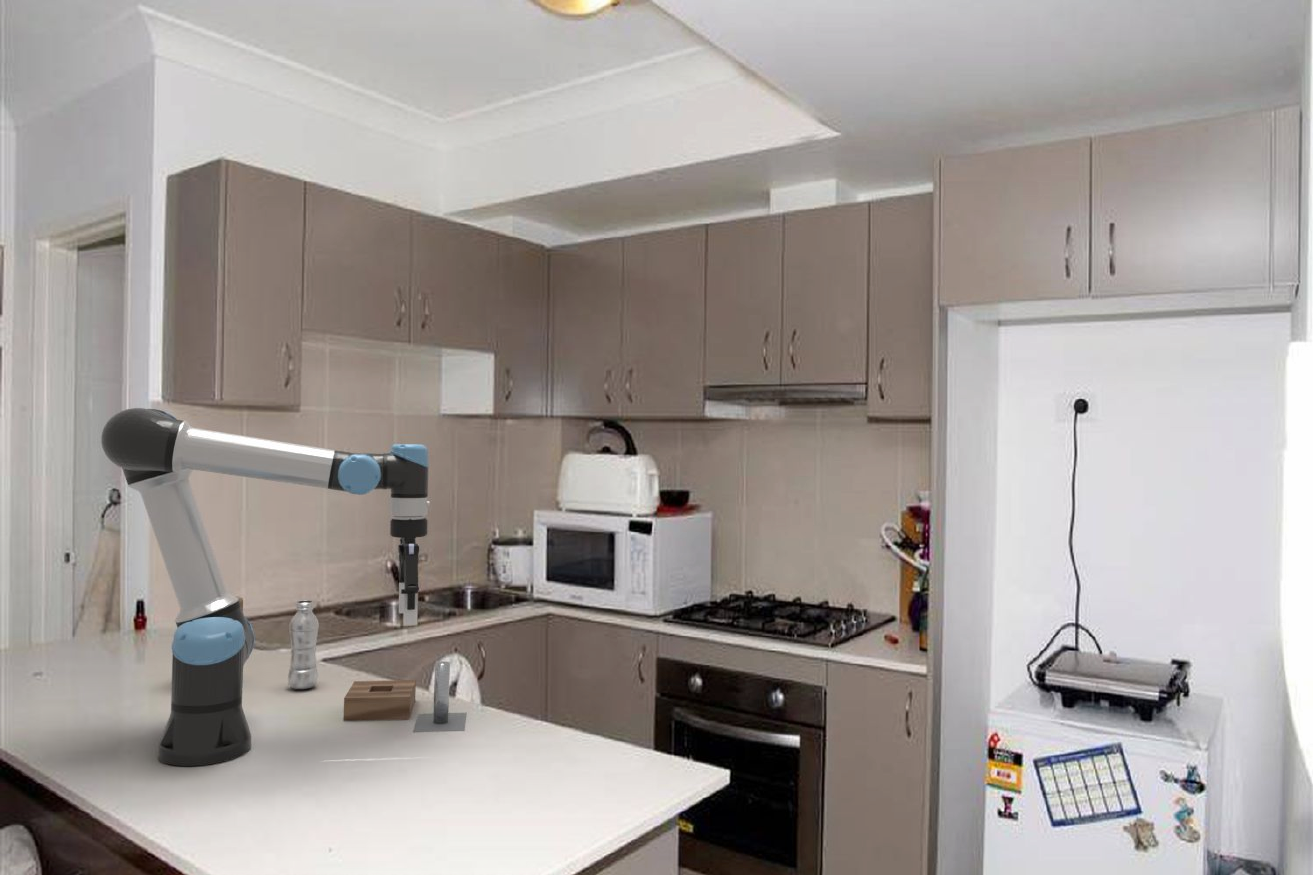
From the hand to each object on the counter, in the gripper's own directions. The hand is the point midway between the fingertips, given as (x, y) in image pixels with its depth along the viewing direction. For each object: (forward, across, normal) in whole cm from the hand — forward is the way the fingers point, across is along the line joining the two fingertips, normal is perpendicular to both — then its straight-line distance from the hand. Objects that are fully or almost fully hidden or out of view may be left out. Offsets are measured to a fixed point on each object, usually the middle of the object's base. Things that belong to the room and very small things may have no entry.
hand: (407, 618), depth 187 cm
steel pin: (+20, -7, -6) cm, 22 cm away
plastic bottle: (+20, +27, +21) cm, 40 cm away
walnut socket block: (+20, +4, +5) cm, 21 cm away
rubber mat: (+20, -7, -6) cm, 23 cm away
